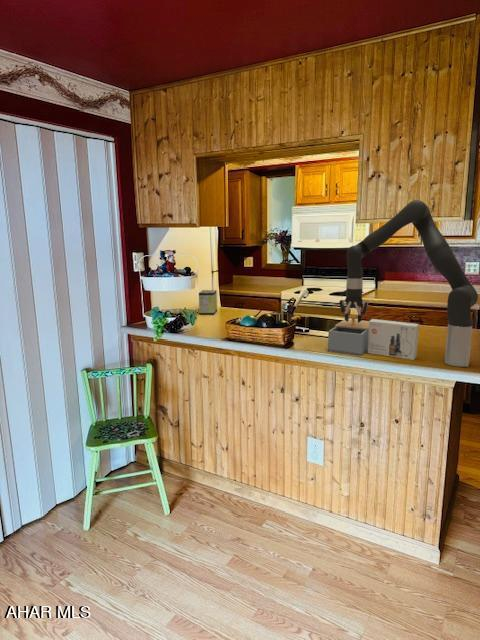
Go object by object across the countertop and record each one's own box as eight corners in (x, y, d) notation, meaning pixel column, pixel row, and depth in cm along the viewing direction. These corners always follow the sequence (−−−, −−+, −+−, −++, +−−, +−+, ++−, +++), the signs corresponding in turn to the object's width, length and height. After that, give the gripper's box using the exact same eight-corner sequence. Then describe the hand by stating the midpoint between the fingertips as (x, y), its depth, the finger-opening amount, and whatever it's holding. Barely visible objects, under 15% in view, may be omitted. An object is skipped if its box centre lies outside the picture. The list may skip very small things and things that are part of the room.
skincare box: (366, 353, 201) (368, 320, 198) (370, 350, 205) (372, 318, 202) (414, 360, 189) (416, 325, 186) (416, 357, 194) (419, 323, 190)
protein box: (217, 310, 311) (216, 289, 308) (213, 315, 296) (213, 292, 293) (203, 310, 312) (202, 289, 309) (199, 315, 297) (198, 293, 294)
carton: (370, 347, 211) (371, 327, 209) (361, 355, 198) (362, 334, 196) (338, 343, 219) (339, 324, 217) (327, 351, 206) (328, 331, 204)
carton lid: (375, 323, 217) (376, 311, 216) (367, 330, 204) (368, 317, 202) (344, 320, 225) (345, 308, 224) (335, 326, 212) (335, 314, 210)
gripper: (371, 287, 206) (369, 321, 209) (342, 285, 213) (341, 319, 216) (367, 289, 199) (365, 324, 203) (337, 287, 207) (336, 321, 210)
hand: (353, 321), depth 210 cm, fingers closed on carton lid, 5 cm apart
